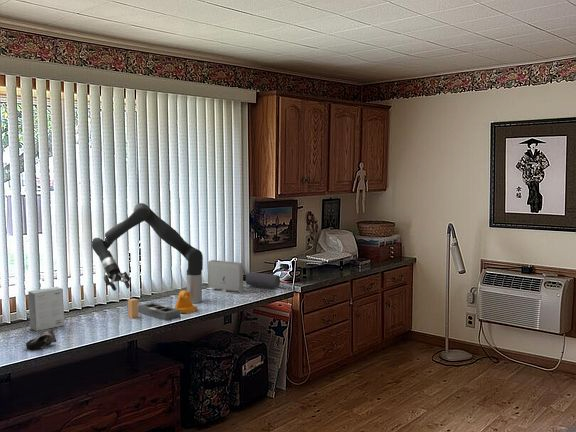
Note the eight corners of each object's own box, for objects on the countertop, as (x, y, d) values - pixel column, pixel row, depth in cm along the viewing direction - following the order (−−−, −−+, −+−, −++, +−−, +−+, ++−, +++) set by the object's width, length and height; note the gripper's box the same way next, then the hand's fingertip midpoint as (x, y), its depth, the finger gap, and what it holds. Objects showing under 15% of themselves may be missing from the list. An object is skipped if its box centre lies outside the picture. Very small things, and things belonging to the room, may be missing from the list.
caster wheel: (25, 355, 276) (34, 345, 286) (48, 351, 276) (57, 341, 285) (21, 342, 275) (30, 333, 284) (44, 338, 274) (53, 328, 284)
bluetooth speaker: (280, 287, 412) (280, 273, 411) (274, 290, 403) (274, 276, 402) (251, 284, 421) (251, 270, 420) (245, 287, 412) (245, 273, 411)
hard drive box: (58, 322, 322) (57, 286, 320) (64, 325, 316) (63, 288, 314) (29, 328, 311) (28, 290, 309) (35, 331, 306) (33, 293, 304)
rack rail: (138, 312, 345) (138, 304, 344) (152, 309, 352) (152, 301, 351) (165, 320, 327) (165, 312, 327) (180, 317, 334) (180, 309, 334)
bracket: (182, 314, 341) (181, 293, 339) (175, 312, 346) (174, 291, 345) (197, 311, 348) (197, 290, 347) (190, 308, 353) (190, 288, 352)
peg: (134, 315, 337) (133, 298, 336) (138, 317, 334) (138, 299, 333) (128, 317, 334) (127, 299, 333) (132, 318, 331) (131, 300, 330)
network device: (206, 290, 402) (205, 261, 400) (213, 288, 410) (213, 259, 408) (238, 294, 390) (238, 264, 388) (245, 292, 398) (245, 262, 396)
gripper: (101, 264, 339) (113, 287, 333) (123, 261, 350) (135, 283, 343) (97, 272, 343) (108, 294, 337) (119, 268, 354) (130, 290, 347)
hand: (122, 288), depth 340 cm, fingers open, 8 cm apart
